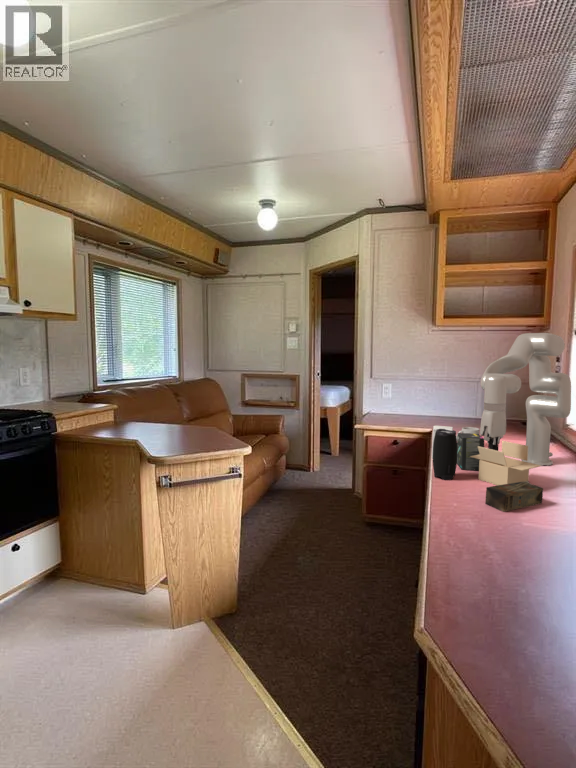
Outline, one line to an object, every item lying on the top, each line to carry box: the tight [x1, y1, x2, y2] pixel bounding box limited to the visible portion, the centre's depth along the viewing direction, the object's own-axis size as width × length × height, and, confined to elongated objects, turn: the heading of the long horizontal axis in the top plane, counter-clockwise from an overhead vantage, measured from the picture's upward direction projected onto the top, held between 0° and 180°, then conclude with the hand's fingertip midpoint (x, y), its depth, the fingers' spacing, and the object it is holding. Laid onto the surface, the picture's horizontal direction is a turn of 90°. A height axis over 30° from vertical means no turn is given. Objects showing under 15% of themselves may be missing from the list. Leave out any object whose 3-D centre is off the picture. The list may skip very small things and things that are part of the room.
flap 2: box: [501, 440, 528, 461], centre depth 165 cm, size 6×11×1 cm
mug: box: [456, 426, 481, 438], centre depth 220 cm, size 11×10×10 cm
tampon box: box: [456, 432, 485, 472], centre depth 181 cm, size 11×9×15 cm
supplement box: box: [431, 425, 454, 460], centre depth 197 cm, size 9×9×15 cm
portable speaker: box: [432, 429, 458, 481], centre depth 167 cm, size 9×9×20 cm
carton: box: [470, 454, 542, 486], centre depth 162 cm, size 14×22×8 cm, turn 30°
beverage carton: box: [484, 481, 544, 513], centre depth 138 cm, size 8×19×7 cm, turn 114°
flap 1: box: [478, 446, 507, 466], centre depth 158 cm, size 6×11×1 cm
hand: (493, 453), depth 158 cm, fingers closed
